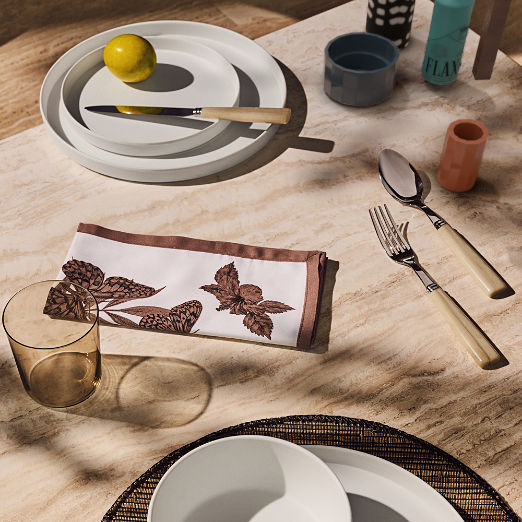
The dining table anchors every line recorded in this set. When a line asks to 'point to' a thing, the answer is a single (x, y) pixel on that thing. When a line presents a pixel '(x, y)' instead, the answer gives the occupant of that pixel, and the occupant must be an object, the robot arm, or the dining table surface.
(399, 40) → the glass
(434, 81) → the beverage bottle
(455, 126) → the crock
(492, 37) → the stirring stick
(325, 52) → the bowl
